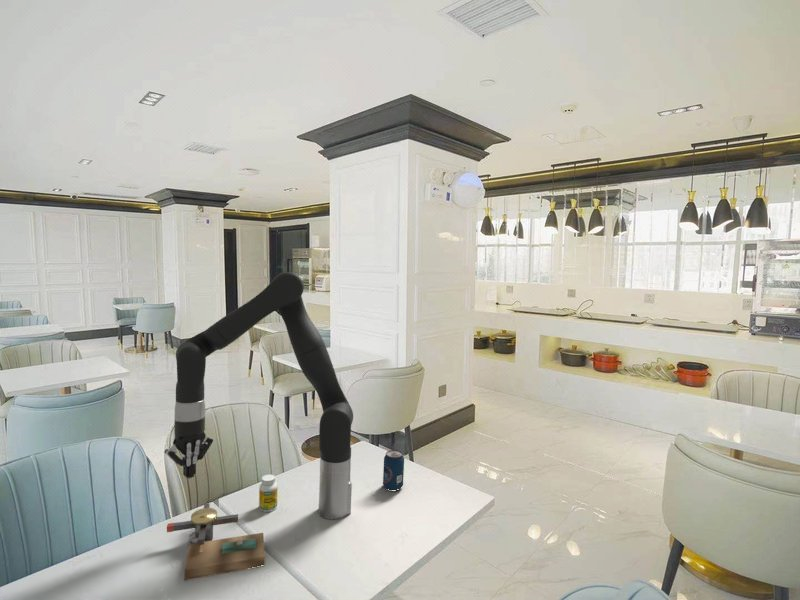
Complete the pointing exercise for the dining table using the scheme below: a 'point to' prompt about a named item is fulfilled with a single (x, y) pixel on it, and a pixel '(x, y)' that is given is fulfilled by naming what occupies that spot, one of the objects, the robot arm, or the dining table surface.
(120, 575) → the dining table surface
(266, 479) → the supplement bottle
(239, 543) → the stand
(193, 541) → the capstan
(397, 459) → the soda can
